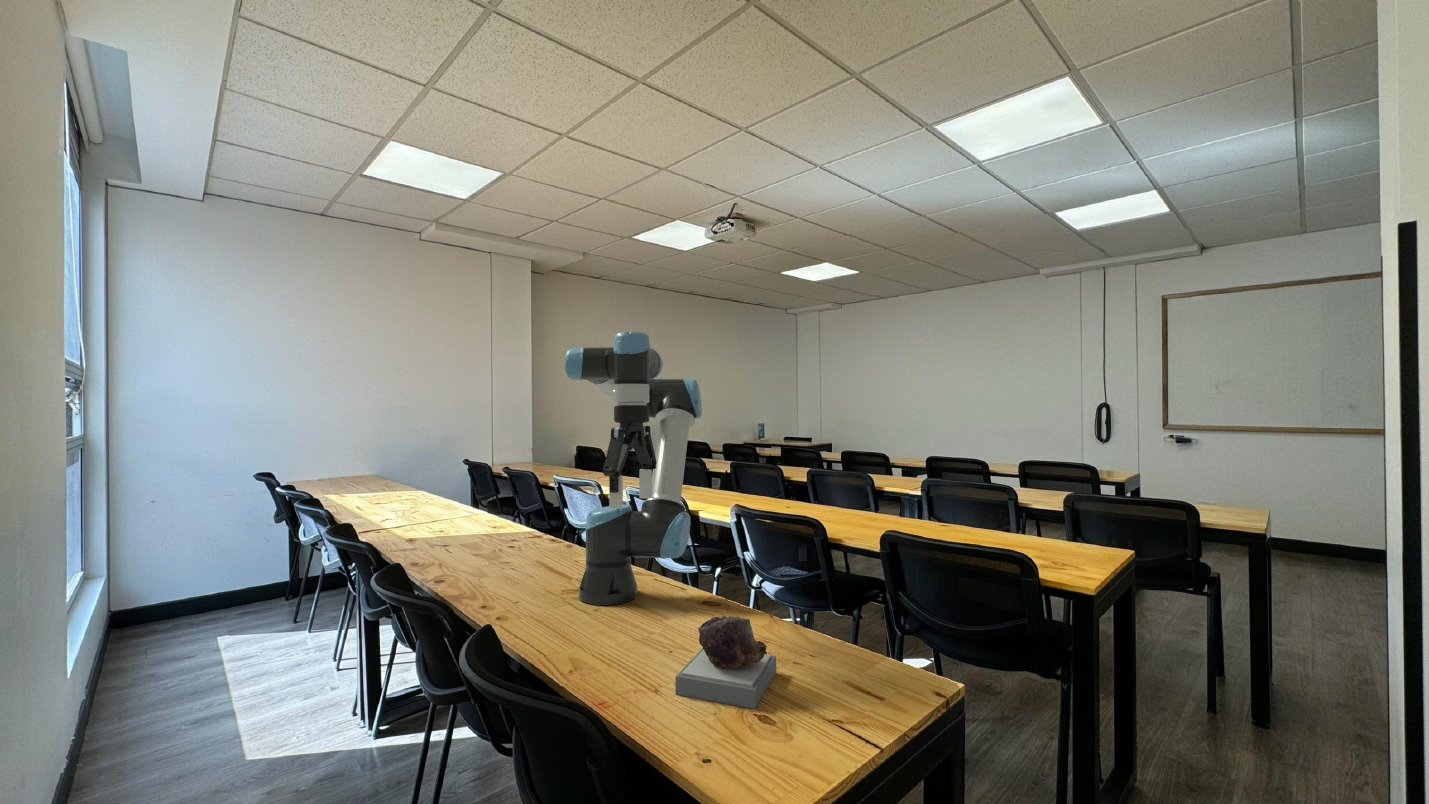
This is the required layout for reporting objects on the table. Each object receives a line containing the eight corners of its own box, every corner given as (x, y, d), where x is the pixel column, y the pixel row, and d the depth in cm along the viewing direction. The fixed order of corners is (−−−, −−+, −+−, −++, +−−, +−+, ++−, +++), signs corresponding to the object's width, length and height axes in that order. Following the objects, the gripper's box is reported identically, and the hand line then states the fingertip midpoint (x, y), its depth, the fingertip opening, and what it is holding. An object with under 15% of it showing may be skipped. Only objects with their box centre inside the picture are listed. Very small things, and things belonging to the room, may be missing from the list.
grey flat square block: (705, 661, 111) (705, 643, 111) (776, 672, 106) (776, 653, 106) (675, 694, 97) (675, 674, 97) (754, 709, 93) (754, 687, 93)
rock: (724, 654, 108) (686, 670, 101) (720, 607, 110) (682, 619, 102) (773, 662, 101) (736, 680, 93) (768, 612, 102) (731, 625, 94)
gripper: (641, 404, 137) (641, 493, 137) (585, 404, 113) (585, 511, 113) (670, 404, 134) (670, 495, 134) (619, 404, 111) (618, 514, 111)
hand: (631, 503), depth 124 cm, fingers open, 13 cm apart
